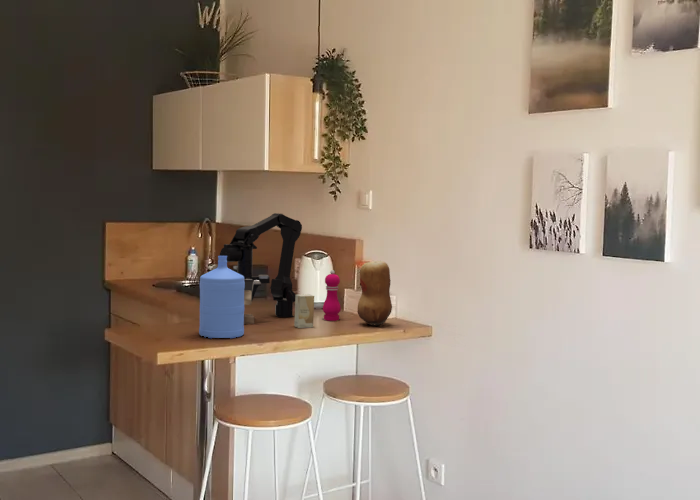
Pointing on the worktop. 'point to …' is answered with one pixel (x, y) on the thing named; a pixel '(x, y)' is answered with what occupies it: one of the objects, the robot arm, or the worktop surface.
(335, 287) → the pepper mill
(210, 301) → the water jug
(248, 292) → the oak cube
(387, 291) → the butternut squash
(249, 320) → the beige flat block
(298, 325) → the skincare box
